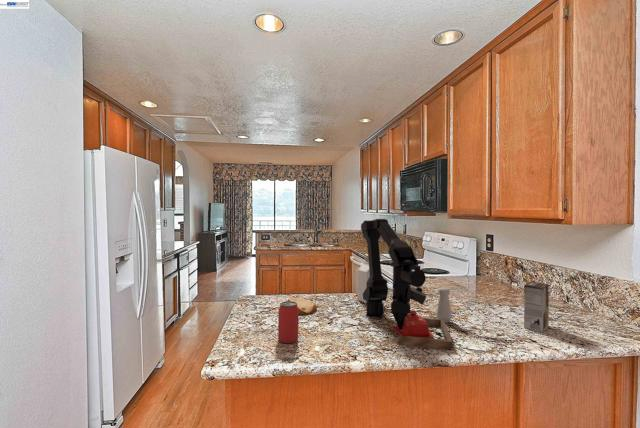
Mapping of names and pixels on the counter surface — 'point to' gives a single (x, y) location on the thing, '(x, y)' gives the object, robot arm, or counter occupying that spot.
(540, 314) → the coffee box
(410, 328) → the butter dish
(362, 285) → the milk carton
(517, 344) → the counter surface
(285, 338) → the beer can
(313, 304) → the slice of bread
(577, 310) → the counter surface
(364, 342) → the counter surface
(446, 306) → the salt shaker
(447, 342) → the walnut bay
